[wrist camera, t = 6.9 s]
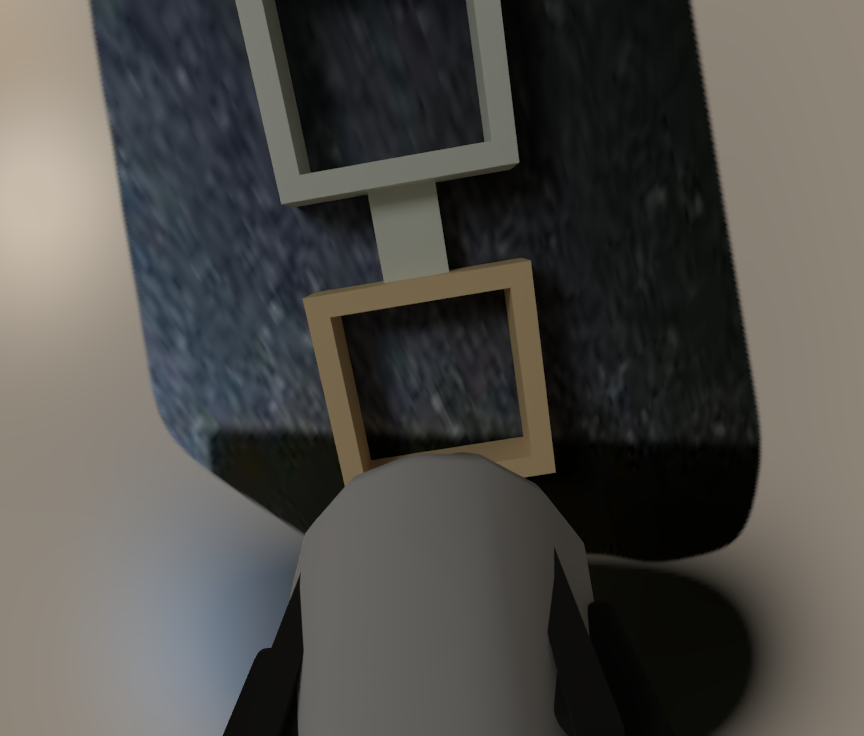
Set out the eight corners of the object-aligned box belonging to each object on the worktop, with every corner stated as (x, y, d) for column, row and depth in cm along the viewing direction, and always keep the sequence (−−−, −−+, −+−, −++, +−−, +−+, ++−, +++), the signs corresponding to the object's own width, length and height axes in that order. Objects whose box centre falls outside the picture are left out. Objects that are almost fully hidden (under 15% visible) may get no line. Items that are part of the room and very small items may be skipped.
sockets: (242, -40, 22) (218, -74, 20) (479, -86, 22) (485, -126, 19) (356, 480, 28) (348, 503, 26) (544, 451, 28) (555, 472, 25)
